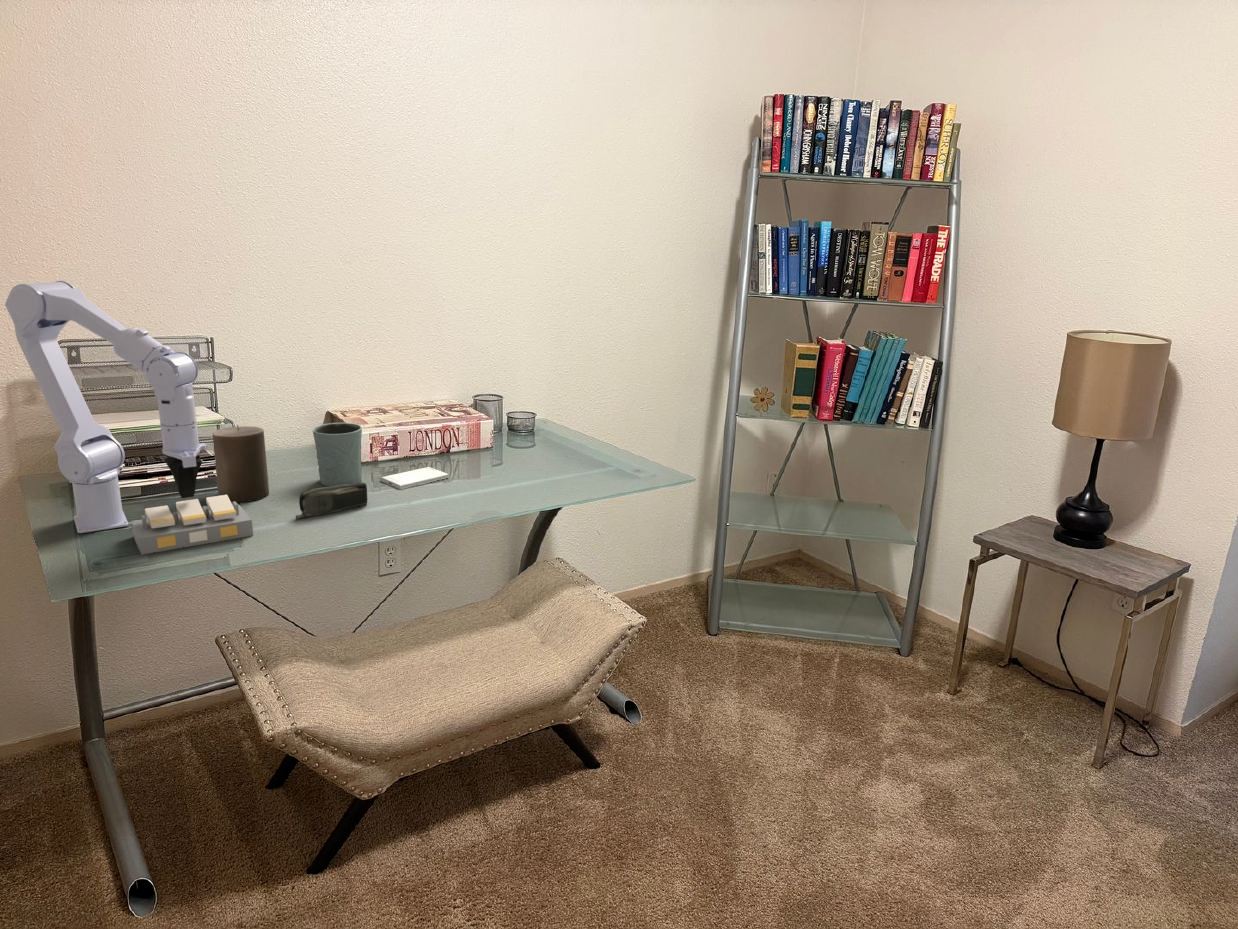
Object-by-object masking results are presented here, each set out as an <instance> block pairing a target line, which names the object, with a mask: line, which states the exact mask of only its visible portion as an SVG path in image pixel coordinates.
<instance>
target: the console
mask: <svg viewBox="0 0 1238 929" xmlns="http://www.w3.org/2000/svg"><path fill="white" fill-rule="evenodd" d="M232 505H233V507H234V509H235V511H236V517H235V518H229V519H222V520H216V521H215V520H214V518H213V516H212V513H211V511H210V509H209V507H208V505H203V506H202V509H203V512H204V514H205V516H206V522H204V523H197V524H191V525H185V526H184V524H183V522H182V520H181V517H180V515H179V512H178V510H177V509H176V510H172V516H173V517H174V520H175V525H171V526H165V527H159V528H151V526H150V523H149V521H148V519H147V516H146V514H142V515H141V519H135V520H134V519H133V520H131V527H132V528H131V529H132V536H133V539H134V541H135V544H136V546H137V549H138V551H139V553H140V555H147V554H154V552H155V553H160V552H165V551H171V550H177V548H178V549H183V547H184V548H190V547H194V546H201V545H205V544H207V545H208V544H210V543H218V542H223V541H228V540H235V539H241V538H242V539H243V538H247V537H252V536H254V531H253V529H254V528H253V520H252V518H251V517H250V516H249V514H247V512H246V511H245V510H244V509H243V508H242V506H241V505H240V504H238V502H236V501H235V502H232Z"/></svg>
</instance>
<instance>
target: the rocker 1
mask: <svg viewBox="0 0 1238 929" xmlns="http://www.w3.org/2000/svg"><path fill="white" fill-rule="evenodd" d="M144 515H145V517H146V519H148V521H149V523H150V526H151V528H159V527H165V526H171V525H175V520H174V517H173V516H172V515H173V513H172V512H171V510H170V508H169V506H168V505H160V506H154V507H147V508H146V507H145V508H144Z"/></svg>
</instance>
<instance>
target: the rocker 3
mask: <svg viewBox="0 0 1238 929" xmlns="http://www.w3.org/2000/svg"><path fill="white" fill-rule="evenodd" d="M205 502H206V504H207V505H206V506H207V507H208V508H209V509H210V511H211V513H212V516H213V518H214V520H215V521H216V520H222V519H229V518H235V517H236V511H235V509H234V507H233V502H231V501H230V499H229V497H228V495H221V496H219V495H216V496H208V497H205Z"/></svg>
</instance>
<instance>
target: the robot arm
mask: <svg viewBox="0 0 1238 929" xmlns="http://www.w3.org/2000/svg"><path fill="white" fill-rule="evenodd" d="M4 305H5V307H6V310H7V312H8V314H9V315H10V317H11V320H12V322H13V325H14V330H15V337H16V340H17V343H18V345H19V347H20V349H21V351H22V353H23V355H24V357H25V359H26V361H27V363H28V366H29V368H30V370H31V371H32V374H33V376H34V378H35V380H36V382H37V384H38V387H39V388H40V390H41V393H42V395H43V397H44V399H45V401H46V402H47V405H48V407H49V410H50V411H51V414H52V416H53V417H54V419H55V422H56V424H57V426H58V428H59V431H60V435H59V437H58V438H57V441H56V442H55V444H54V446H53V448H54V450H55V452H56V455H57V464H58V468H59V471H60V473H61V475H63V476H64V478H66V479H67V480H68V483H70V484H72V491H73V497H74V504H75V510H76V515H74V516H73V519H74V520H73V521H74V524H75V528H76V530H77V533H78V534H84V533H85V534H86V533H92V532H97V531H103V530H104V531H105V530H110V529H111V530H112V529H116V528H122V527H123V528H124V527H128V526H129V522H128V520H127V517H126V515H125V512H124V511H123V505H122V498H121V490H120V484H119V477H118V474H120V473H121V472H120V467H121V466H123V464H124V462H125V460H126V459H125V458H126V455H125V449H124V448H123V446H122V445H121V443H120V442H119V441H118V440H117V439H116V438H115V437H114V436H113V434H112V433H111V431H110V429H109V428H108V427H106V426H105V425H101V424H100V423H98V422H96V421H95V419H94V417H93V416H92V413H91V410H90V408H89V406H88V404H87V403H86V400H85V398H84V395H83V393H82V392H81V389H80V387H79V385H78V383H77V381H76V379H75V377H74V374H73V372H72V369H71V368H70V366H69V364H68V362H67V360H66V358H65V355H64V353H63V350H62V349H61V347H60V344H59V343H58V341H57V339H58V337H59V335H60V333H61V331H62V330H63V329H64V327H65V326H66V325H67V324H68V323H69V322H70V321H71V322H74V323H76V324H78V325H80V326H81V327H83V328H85V329H87V330H88V331H89V332H92V333H93V334H95V335H97V336H99V337H100V338H102V339H104V340H106V341H107V342H108V343H110V344H112V347H113V351H114V353H115V354H116V356H118V357H120V358H121V359H123V360H124V361H125V362H127V363H129V365H132V366H133V367H134V368H136V369H137V370H139V371H140V372H142V373H144V375H145V376H146V380H147V382H148V384H150V386H151V387H152V388H153V391H154V397H155V398H156V399H157V400H156V401H157V407H158V415H159V416H158V417H159V424H160V425H159V426H160V432H161V440H162V449H161V450H162V454H163V455H165V456H168V457H167V458H164V459H163V461H164V463H165V464H166V465H167V467H168V469H169V470H170V472H171V475H172V477H173V480H174V483H175V485H176V486H175V487H176V489H177V492H178V494H179V496H180V498H181V499H186V498H193V497H195V494H196V487H197V486H196V485H197V479H198V478H197V477H198V473H199V471H200V469H201V466H202V465H203V464H202V463H203V459H202V458H201V457H200V455H199V453H200V452H201V451H202V450H203V451H204V450H206V449H208V447H207V446H208V445H207V444H206V443H205V442H202V443H200V440H199V431H198V424H197V414H196V412H197V411H196V405H195V404H196V403H195V395H194V386H193V383H194V382H195V381H196V380H197V378H198V374H199V367H198V364H197V362H196V360H195V359H194V358H193V357H192V356H191V355H190V354H189V353H188V352H185V351H174V350H172V348H171V347H170V346H168V345H164V344H162V343H161V342H159V341H158V340H156V339H155V338H153V337H152V336H150V335H149V331H148V330H147V329H144V328H138V327H129V328H127V327H125V326H124V325H122V324H121V323H119V322H118V320H115V319H114V318H113V317H112V316H110V315H109V314H108V313H106V312H105V311H104V310H103V309H101V308H99V307H98V306H97V305H96V304H95V303H93V302H92V301H91V300H89V299H88V298H87V297H86V295H85V292H84V291H83V290H82V289H79V288H77V287H76V286H74V284H72V283H71V282H68V281H66V280H57V281H54V282H53V281H52V282H43V283H42V282H41V283H39V282H38V283H30V284H28V283H20V284H16V285H15V286H13V287H12V288H11V289H10V292H9V294H8V296H7V299H6V301H5V303H4ZM83 442H86V443H83ZM82 443H83V444H82Z"/></svg>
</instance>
